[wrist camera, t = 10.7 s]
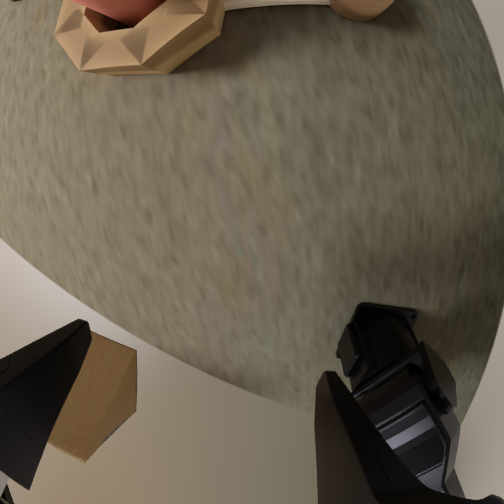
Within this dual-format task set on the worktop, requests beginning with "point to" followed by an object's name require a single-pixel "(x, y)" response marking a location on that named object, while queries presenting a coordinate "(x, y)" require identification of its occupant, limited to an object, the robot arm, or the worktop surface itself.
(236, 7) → the white thin stick
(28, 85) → the worktop surface
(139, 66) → the bead
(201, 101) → the worktop surface
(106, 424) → the sandwich container
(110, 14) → the pink bottle
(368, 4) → the small bead
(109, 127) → the worktop surface
